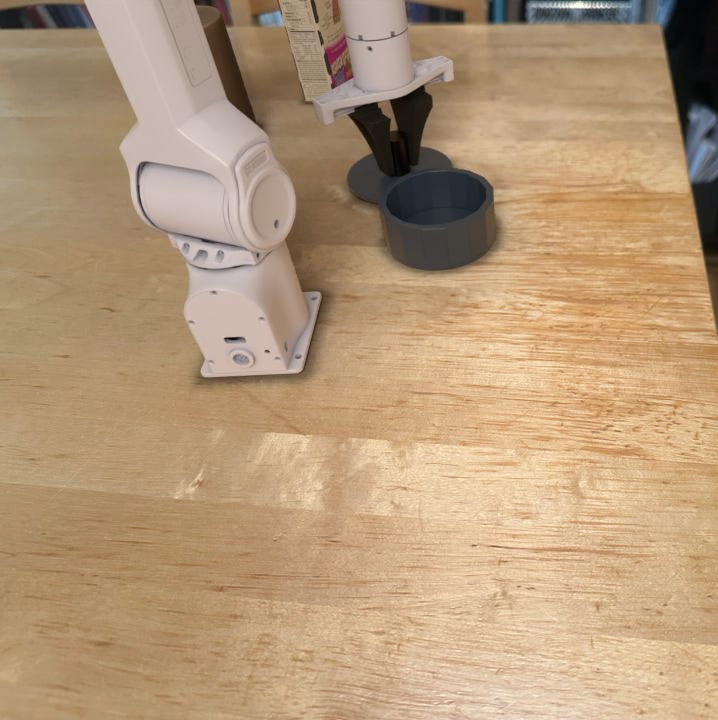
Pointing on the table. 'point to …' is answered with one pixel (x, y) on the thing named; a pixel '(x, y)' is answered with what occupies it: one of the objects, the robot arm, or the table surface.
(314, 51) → the candy bar box
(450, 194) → the pot
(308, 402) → the table surface
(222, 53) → the pillar candle
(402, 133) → the lid
